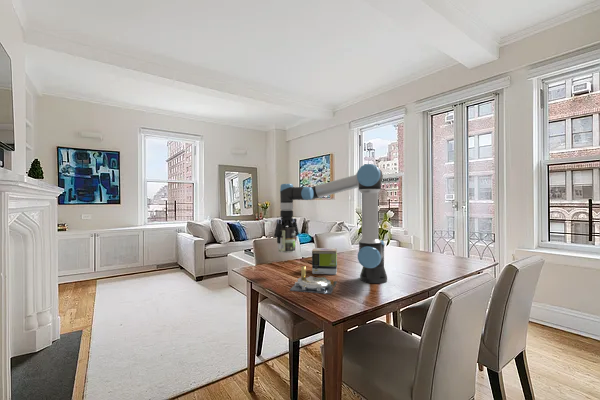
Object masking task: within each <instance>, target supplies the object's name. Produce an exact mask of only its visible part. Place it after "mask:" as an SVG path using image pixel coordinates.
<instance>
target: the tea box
mask: <svg viewBox="0 0 600 400" xmlns="http://www.w3.org/2000/svg"><path fill="white" fill-rule="evenodd" d="M311 273H312V274H314V275H315V274H317V275H337V273H338V249H337V248H332V247H331V248H327V247H325V248H323V247H322V248H321V247H314V248H313V249H312V250H311Z"/></svg>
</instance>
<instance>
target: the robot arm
mask: <svg viewBox="0 0 600 400" xmlns="http://www.w3.org/2000/svg"><path fill="white" fill-rule="evenodd" d="M382 180H383V172H382V170H381V169H380V167H378V166H377V165H376V164H373V163H365V164H363V165H362V166H360V167H359V168H358V170H357V172H356V173H355V174H353V175H349V176H347V177H343V178H339V179H336V180H332V181H329V182H328V181H327V182H324V183H320V184H317V185H314V186H294V184H293V183H281V184H280V187H279V188H280V189H279V194H280V198H279V199H280V212H279V213H280V214H279V215H280V219H277V220H276V226H275V230H274V235H273V236H274V237H275V238H276V242H277V243H276V244H277V250H278V249H282V238H281V235H282V230H280V228H285V227H291V228H293V227H295V242H296V241H297V236H298V235H299V234H300V232H299V227H298V223H297V218H293V217H294V211H293V210H294V201H295V200H296V201H313V200H315V199H319V198H322V197H326V196H330V195H331V196H332V195H334V194H335V195H336V194H338V193H341V192H346V191H350V190H354V189H357V188H358V191H359V192H360V193H361V238H360V239H359V241H358V252H357V261H358V263H359V264H360V265H361V266H362V269H361V272H360V273H359V280H360V281H362V282H363V283H369V284H384V283H387V282H388V275H387V272H386V269H385V242H384V240H383V239H382V240H381V239H379V193H380V192H381V190H382Z"/></svg>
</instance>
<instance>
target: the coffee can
mask: <svg viewBox="0 0 600 400" xmlns="http://www.w3.org/2000/svg"><path fill="white" fill-rule="evenodd" d="M280 230H282V235H281V238H282V249H278V248H277V251H278V253H281V254H282V253H283V254H284V253H285V254H287V253H289V254H290V253H291V254H292V253H295V252H296V241H295V227H293V228H291V227H289V226H286V227H285V228H280Z"/></svg>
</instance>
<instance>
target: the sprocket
mask: <svg viewBox="0 0 600 400" xmlns="http://www.w3.org/2000/svg"><path fill="white" fill-rule="evenodd" d="M300 269H301V270H300V271H301V272H300V273H301V277H299V278H297V281H295V282H294V285H295V286H299V287H301V288H302V290H307V289H308V290H317V291H321V290H323V289H327V288H328V289H331V288H332V285H334V281H335V280H334V279H330V280H329V279H327V278H326V277H325V276H323V277H316V276H308V277H306V276H307V266H305V265H303V266H301V268H300Z"/></svg>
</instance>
